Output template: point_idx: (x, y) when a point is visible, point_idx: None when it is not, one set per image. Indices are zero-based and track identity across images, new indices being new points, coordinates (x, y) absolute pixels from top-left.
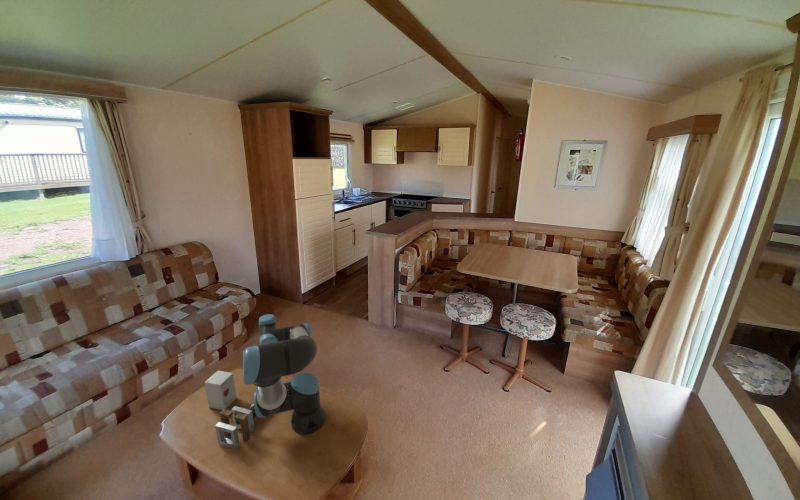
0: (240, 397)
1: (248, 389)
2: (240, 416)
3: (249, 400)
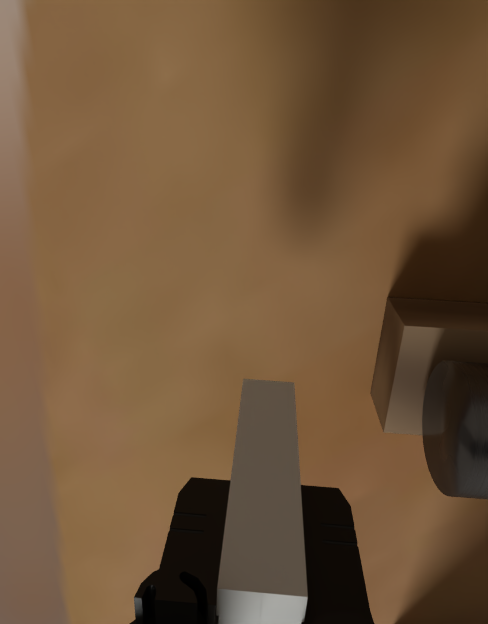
0: (386, 604)
1: None
2: None
3: (413, 527)
